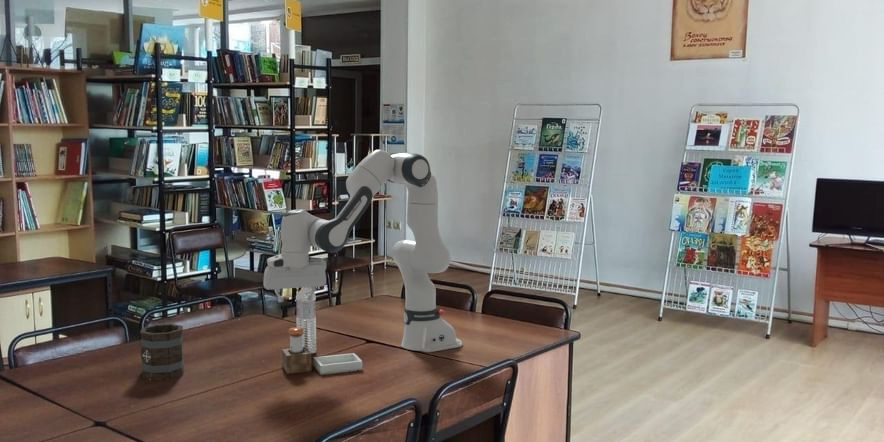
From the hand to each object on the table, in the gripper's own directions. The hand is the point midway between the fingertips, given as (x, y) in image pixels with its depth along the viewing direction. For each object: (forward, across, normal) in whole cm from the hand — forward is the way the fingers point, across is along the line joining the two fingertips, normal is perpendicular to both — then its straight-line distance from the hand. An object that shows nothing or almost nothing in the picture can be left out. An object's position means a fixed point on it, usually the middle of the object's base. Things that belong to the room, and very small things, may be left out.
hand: (295, 301), depth 252 cm
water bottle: (+23, -7, -17) cm, 30 cm away
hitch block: (+23, 0, 0) cm, 23 cm away
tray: (+23, -13, +4) cm, 27 cm away
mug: (+24, +42, -13) cm, 50 cm away
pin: (+23, 0, 0) cm, 23 cm away
